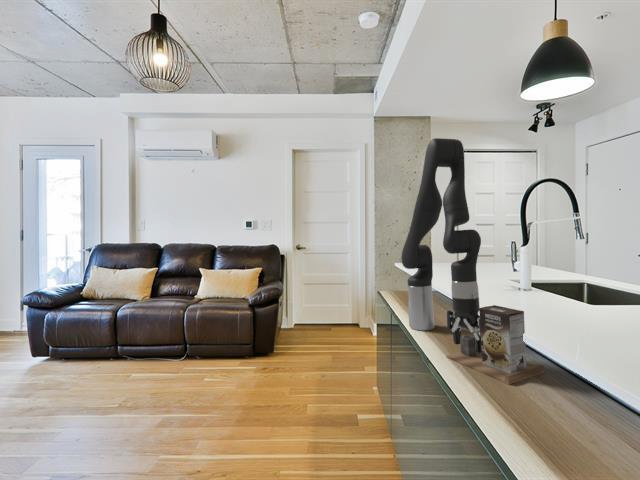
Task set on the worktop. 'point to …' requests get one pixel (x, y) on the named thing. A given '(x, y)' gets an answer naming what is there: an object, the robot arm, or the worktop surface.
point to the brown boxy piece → (502, 338)
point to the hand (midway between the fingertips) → (468, 347)
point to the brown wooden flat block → (474, 361)
